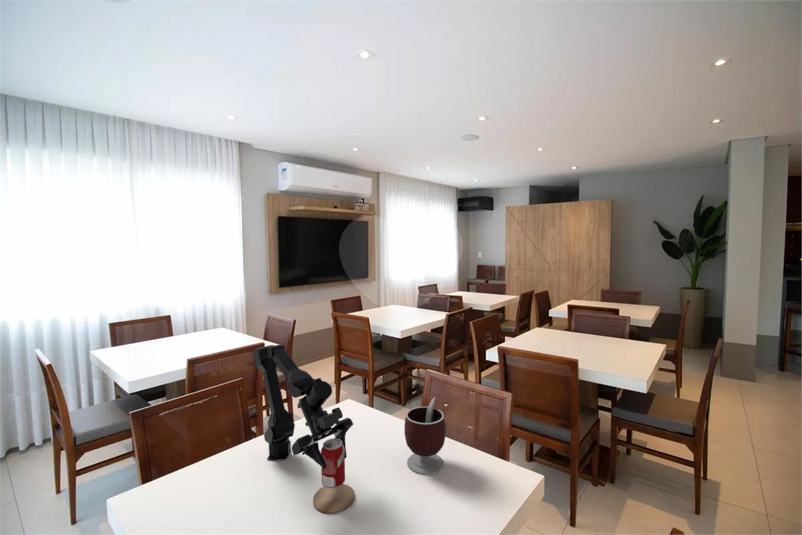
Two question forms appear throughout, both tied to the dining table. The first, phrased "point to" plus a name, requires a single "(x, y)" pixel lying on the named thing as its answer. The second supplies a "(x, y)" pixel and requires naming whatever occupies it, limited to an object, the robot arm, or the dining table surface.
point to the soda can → (333, 463)
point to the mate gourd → (425, 438)
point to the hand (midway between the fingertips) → (335, 463)
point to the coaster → (333, 499)
